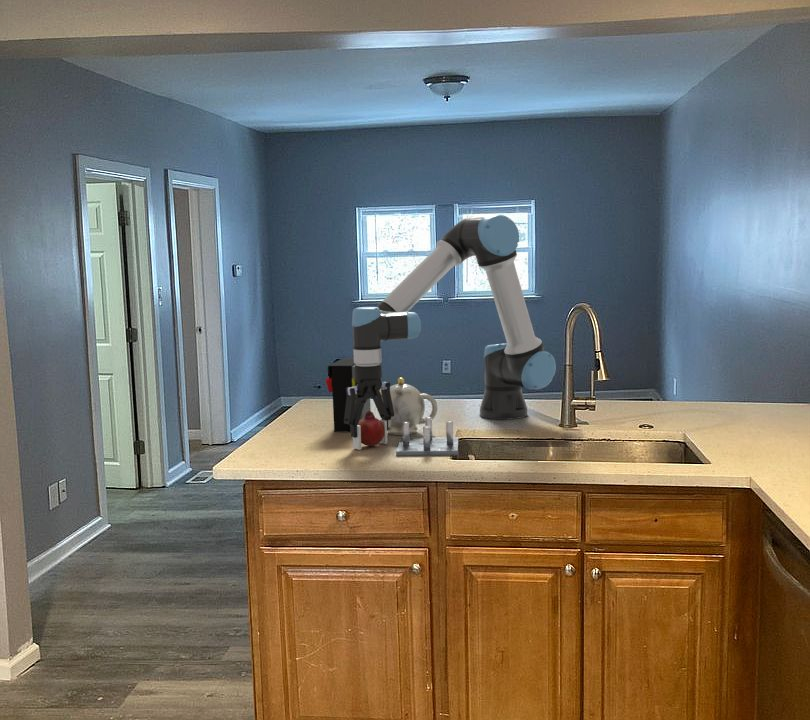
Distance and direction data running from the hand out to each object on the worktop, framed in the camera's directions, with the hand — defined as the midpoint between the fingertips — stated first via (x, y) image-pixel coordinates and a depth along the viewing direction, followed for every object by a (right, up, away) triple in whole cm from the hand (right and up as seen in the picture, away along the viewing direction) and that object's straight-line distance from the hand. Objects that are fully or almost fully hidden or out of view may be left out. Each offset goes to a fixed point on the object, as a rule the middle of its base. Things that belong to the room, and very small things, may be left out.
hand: (370, 445), depth 233 cm
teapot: (+10, +2, +16) cm, 19 cm away
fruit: (0, 0, 0) cm, 0 cm away
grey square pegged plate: (+16, 0, -4) cm, 16 cm away
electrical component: (-7, +3, +28) cm, 29 cm away
